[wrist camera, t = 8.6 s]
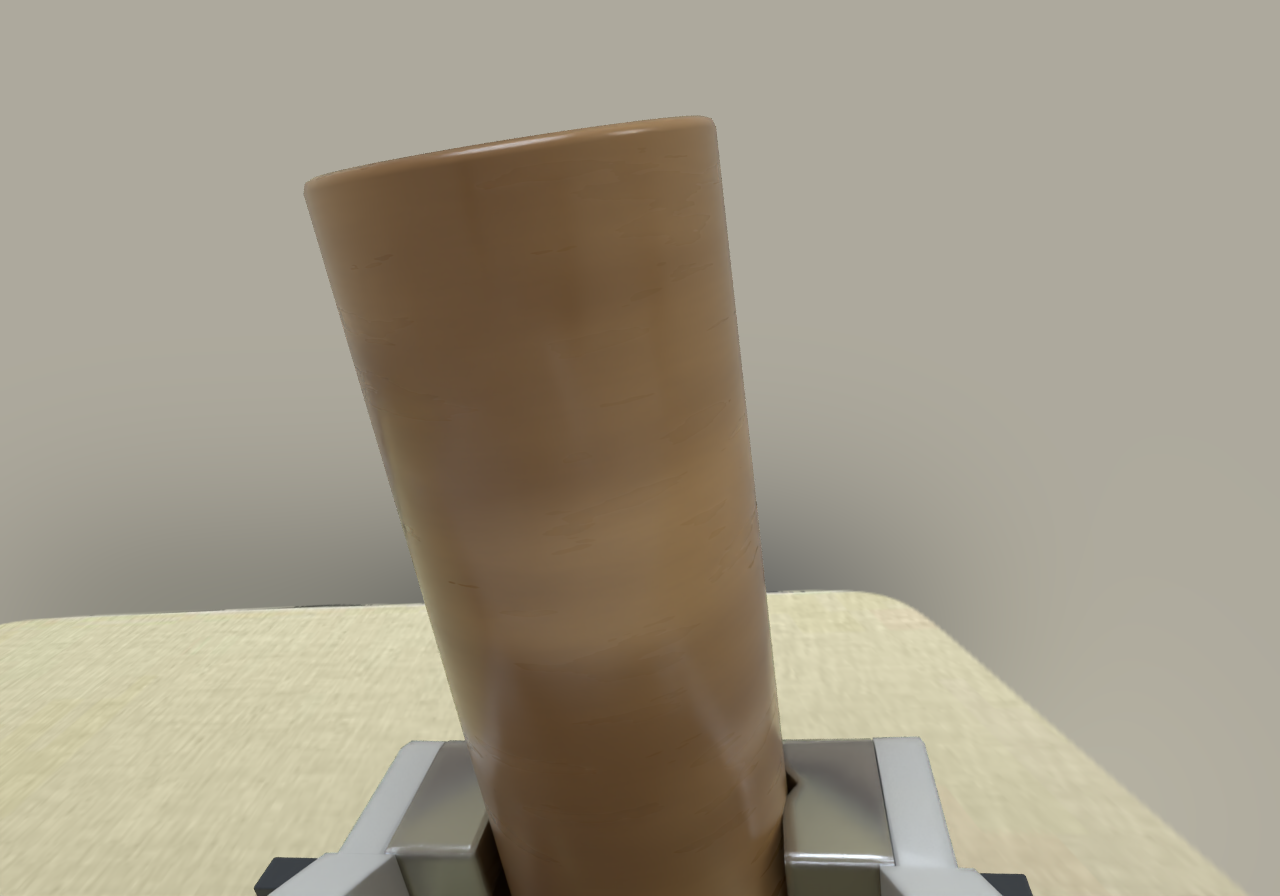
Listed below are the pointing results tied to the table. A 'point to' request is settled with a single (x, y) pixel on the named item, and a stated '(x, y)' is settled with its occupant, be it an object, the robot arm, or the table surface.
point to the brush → (577, 492)
